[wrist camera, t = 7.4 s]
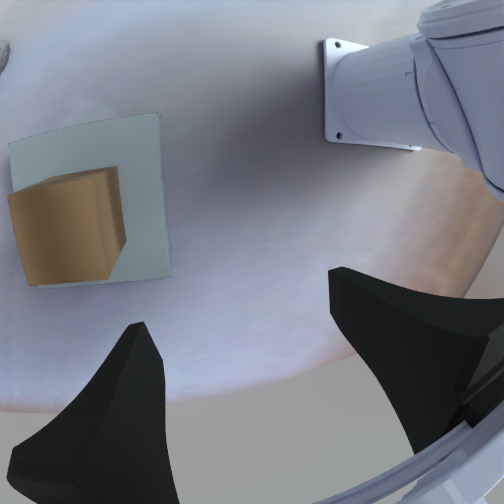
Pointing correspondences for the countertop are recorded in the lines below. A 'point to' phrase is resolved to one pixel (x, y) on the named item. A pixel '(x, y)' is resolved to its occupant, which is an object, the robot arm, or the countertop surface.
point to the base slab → (130, 183)
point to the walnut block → (69, 227)
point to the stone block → (4, 54)
